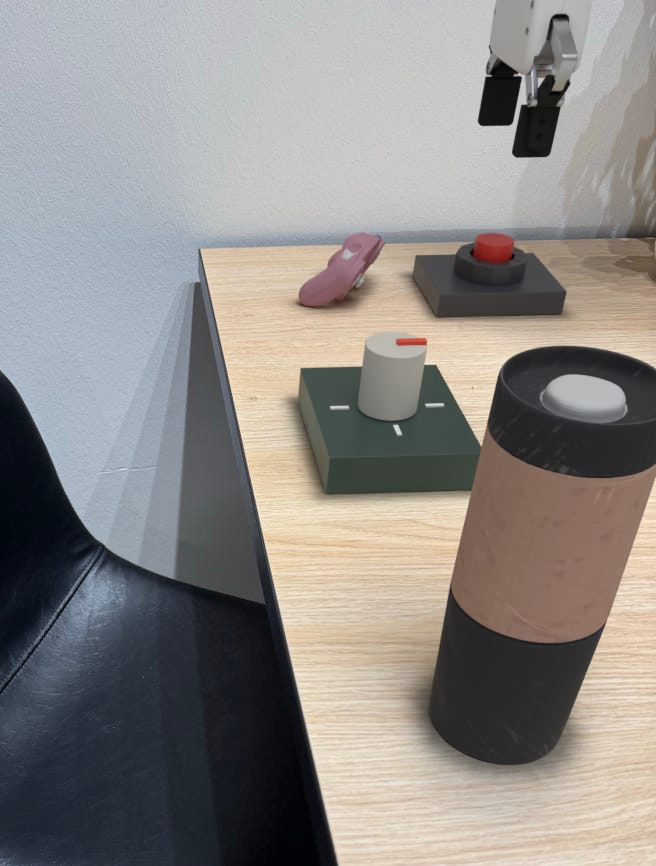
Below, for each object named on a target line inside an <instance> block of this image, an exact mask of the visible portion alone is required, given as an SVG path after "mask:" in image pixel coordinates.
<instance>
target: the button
mask: <svg viewBox="0 0 656 866" xmlns="http://www.w3.org/2000/svg"><path fill="white" fill-rule="evenodd" d="M474 242H475V245H474V250H473V257H474V258H477V259H479V260H482V261H487V262H506V261H510V260H511V257H512V252H513V248H514V247H515V239H514V238H513V237H511V236H509V235H506V234H503V233H497V232H496V233H495V232H486V233H481V234H478V235H477V236H476V237H475V240H474Z"/></svg>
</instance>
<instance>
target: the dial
mask: <svg viewBox="0 0 656 866" xmlns="http://www.w3.org/2000/svg"><path fill="white" fill-rule="evenodd" d="M427 350H428V340H427V338H426V337H419V336H417V335H415V334H411V333H406V332H402V331H382V332H377V333H373V334H372V335H370V336H368V337H367V338H366V339H365V342H364V350H363V358H362V364H361V366H362V372H361V380H360V388H359V396H358V408H359V410H360V411H361V412H362V413H364V414H365V415H367V416H369V417H372V418H375V419H378V420H384V421H398V420H404V419H407V418H410V417H411V416H413V415H414V414H415V413H416V411H417V405H418V399H419V393H420V387H421V381H422V375H423V369H424V365H425V363H426V357H427Z"/></svg>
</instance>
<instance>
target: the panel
mask: <svg viewBox="0 0 656 866" xmlns="http://www.w3.org/2000/svg"><path fill="white" fill-rule="evenodd" d="M361 372H362V365H361V366H326V367H325V366H324V367H323V366H322V367H321V366H320V367H300V370H299V383H298V394H297V404H298V408H299V410H300V414H301V417H302V420H303V423H304V426H305V430H306V433H307V436H308V439H309V443H310V446H311V449H312V452H313V456H314V458H315V462H316V466H317V469H318V472H319V476H320V478H321V482H322V485H323V489H324V492H325V494H326V495H336V494H337V495H338V494H340V495H342V494H343V495H344V494H370V493H371V494H373V493H406V492H407V493H408V492H409V493H410V492H436V491H437V492H439V491H441V492H442V491H472V487H473V482H474V478H475V474H476V469H477V465H478V461H479V456H480V452H481V448H482V444H481V443H480V442H479V440H478V438H477V436H476V434H475V432H474V431H473V429H472V427H471V425H470V424H469V421H468V420H467V418H466V416H465V414H464V413H463V411H462V408H461V407H460V406H459V404H458V401H457V400H456V397H454V394H453V392H452V391H451V389H450V387H449V386H448V384H447V382H446V380H445V378H444V376H443V374H442V372H441V370H440V369H439V367H438V365H437V364H424V369H423V375H422V381H421V387H420V393H419V399H418V405H417V411H416V413H415V414H414V415H413V416H411V417H410V418H407V419H404V420H398V421H384V420H378V419H375V418H372V417H369V416H367V415H365V414H364V413H362V412H361V411H360V410H359V408H358V396H359V388H360V380H361Z"/></svg>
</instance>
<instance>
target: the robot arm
mask: <svg viewBox="0 0 656 866" xmlns="http://www.w3.org/2000/svg"><path fill="white" fill-rule="evenodd" d="M592 6H593V0H496V1H495V5H494V10H493V15H492V22H491V28H490V38H489V45H488V50H489V53H490V56H489V58H488V60H487V62H486V65H485V75H486V76H485V77H484V83H483V88H482V94H481V99H480V103H479V111H478V117H477V124H478V125H479V126H481V127H509V126H511V125H513V123H514V121H515V115H516V110H517V105H518V100H519V97H520V91H521V85H522V80H523V77H522V76H521V75H523V76H524V78H525V99H526V100H525V101H526V104H520V110H519V114H518V119H517V124H516V129H515V134H514V139H513V144H512V149H511V154H512V156H513V157H514V158H516V159H520V158H521V159H523V158H528V159H529V158H547V157H549V156H550V155H551V153H552V148H553V144H554V140H555V135H556V130H557V127H558V123H559V116H560V113H561V109H562V107H563V106H564V104H565V99H566V92H567V91H568V89H569V88H570V86H571V77H572V75H574V73H576V72H577V71H578V69H579V68H580V65H581V62H582V57H583V53H584V48H585V42H586V37H587V32H588V26H589V21H590V18H591V17H590V16H591V11H592ZM519 74H520V75H519ZM539 79H543V80H542V82H541V83H540V84H539Z"/></svg>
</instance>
